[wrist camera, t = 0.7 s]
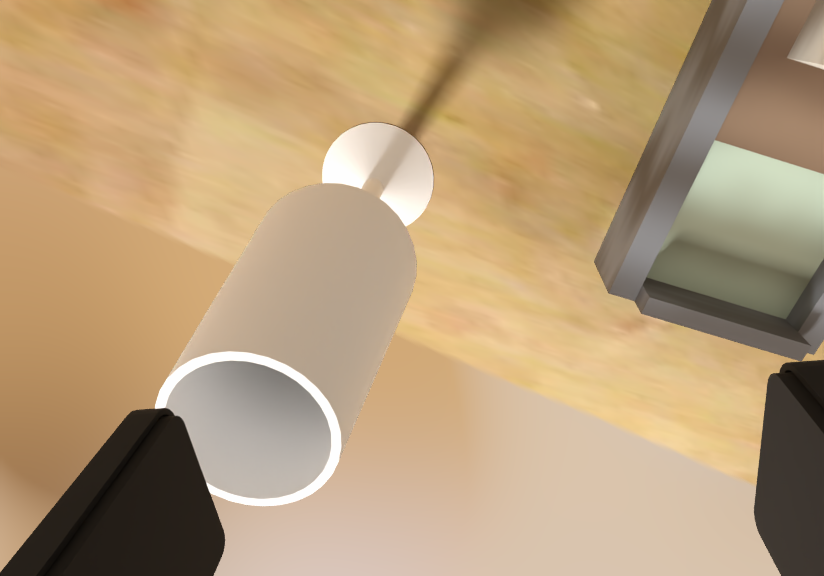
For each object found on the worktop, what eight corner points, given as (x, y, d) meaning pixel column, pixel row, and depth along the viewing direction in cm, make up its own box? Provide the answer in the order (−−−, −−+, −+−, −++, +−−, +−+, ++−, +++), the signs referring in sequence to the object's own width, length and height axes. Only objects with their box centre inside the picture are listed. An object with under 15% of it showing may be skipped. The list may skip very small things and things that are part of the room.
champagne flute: (303, 198, 38) (82, 463, 16) (353, 99, 35) (167, 261, 14) (399, 252, 39) (311, 569, 17) (455, 159, 36) (432, 399, 15)
